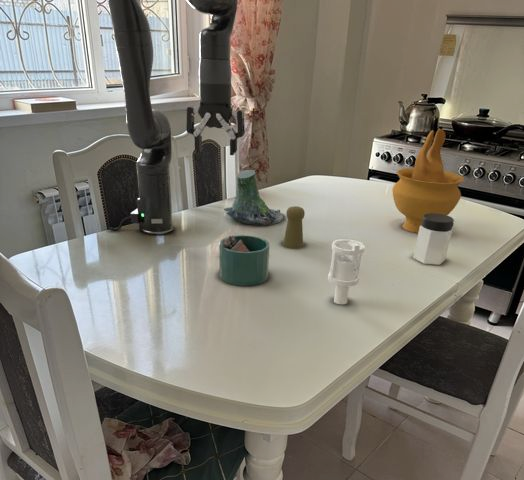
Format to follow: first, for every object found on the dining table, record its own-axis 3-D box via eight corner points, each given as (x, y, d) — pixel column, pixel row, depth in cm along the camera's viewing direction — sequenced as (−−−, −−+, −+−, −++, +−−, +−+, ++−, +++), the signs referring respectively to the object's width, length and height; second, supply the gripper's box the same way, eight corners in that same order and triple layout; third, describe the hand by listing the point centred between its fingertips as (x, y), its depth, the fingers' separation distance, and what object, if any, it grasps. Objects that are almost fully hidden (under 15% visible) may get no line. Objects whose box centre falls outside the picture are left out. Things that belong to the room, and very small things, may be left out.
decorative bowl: (428, 243, 153) (452, 138, 137) (373, 225, 166) (389, 127, 151) (464, 231, 166) (489, 133, 150) (410, 214, 179) (428, 123, 163)
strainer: (335, 310, 113) (343, 247, 105) (319, 297, 119) (326, 235, 111) (361, 305, 116) (371, 243, 108) (345, 293, 121) (354, 232, 113)
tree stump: (296, 222, 167) (291, 170, 155) (247, 245, 160) (238, 193, 148) (264, 205, 179) (258, 155, 167) (217, 226, 172) (207, 176, 160)
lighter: (252, 267, 130) (227, 237, 128) (261, 260, 128) (236, 229, 126) (243, 279, 123) (216, 247, 121) (253, 271, 122) (226, 239, 119)
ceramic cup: (219, 285, 122) (219, 252, 117) (219, 266, 132) (219, 234, 128) (269, 286, 123) (271, 253, 118) (265, 266, 133) (267, 235, 129)
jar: (451, 263, 141) (462, 221, 134) (428, 267, 138) (438, 224, 131) (429, 252, 147) (438, 211, 141) (407, 255, 144) (416, 214, 138)
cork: (301, 249, 145) (305, 211, 139) (281, 247, 146) (283, 209, 140) (304, 242, 150) (307, 205, 144) (284, 240, 151) (287, 203, 145)
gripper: (248, 81, 120) (246, 153, 129) (191, 78, 122) (193, 148, 131) (241, 84, 114) (239, 158, 123) (181, 80, 116) (184, 154, 125)
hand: (215, 153), depth 127 cm, fingers open, 8 cm apart
